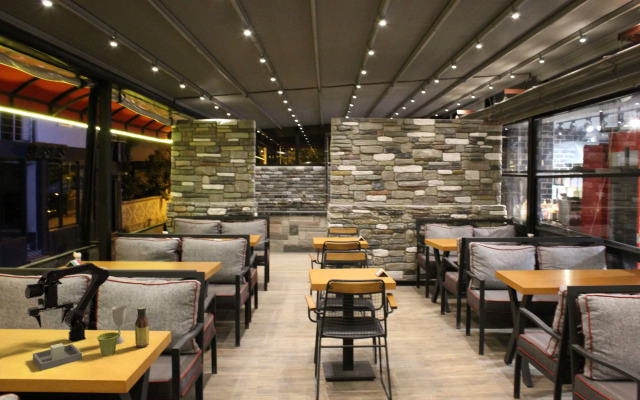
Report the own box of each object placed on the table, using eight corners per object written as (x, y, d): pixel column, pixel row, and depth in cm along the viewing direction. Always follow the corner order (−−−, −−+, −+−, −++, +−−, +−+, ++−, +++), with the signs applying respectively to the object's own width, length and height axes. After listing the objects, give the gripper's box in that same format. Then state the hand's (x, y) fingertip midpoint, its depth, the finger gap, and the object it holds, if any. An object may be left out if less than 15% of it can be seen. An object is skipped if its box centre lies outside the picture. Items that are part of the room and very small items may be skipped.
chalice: (130, 340, 208) (129, 306, 207) (119, 345, 201) (119, 310, 201) (119, 339, 210) (118, 305, 210) (108, 343, 204) (108, 308, 203)
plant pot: (123, 351, 194) (123, 333, 194) (105, 358, 185) (105, 340, 185) (110, 348, 198) (110, 331, 198) (92, 355, 189) (92, 337, 189)
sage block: (61, 355, 187) (61, 343, 187) (64, 358, 184) (64, 345, 184) (50, 358, 184) (50, 345, 184) (53, 361, 181) (52, 348, 181)
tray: (72, 350, 195) (72, 344, 195) (82, 359, 184) (81, 353, 184) (32, 359, 184) (32, 353, 184) (40, 370, 173) (40, 364, 173)
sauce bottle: (138, 343, 203) (137, 305, 203) (150, 343, 204) (150, 305, 203) (133, 349, 197) (132, 309, 196) (146, 348, 197) (145, 309, 197)
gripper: (67, 288, 211) (68, 317, 211) (24, 295, 198) (25, 325, 198) (73, 292, 203) (74, 322, 204) (29, 299, 190) (30, 331, 190)
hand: (51, 325), depth 199 cm, fingers open, 9 cm apart
